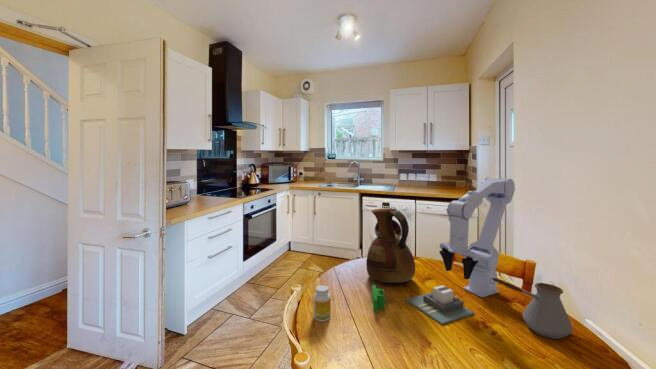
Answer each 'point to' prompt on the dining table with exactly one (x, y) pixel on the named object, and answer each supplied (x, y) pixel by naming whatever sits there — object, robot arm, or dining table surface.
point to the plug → (443, 294)
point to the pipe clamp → (378, 298)
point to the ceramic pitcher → (390, 250)
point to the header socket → (440, 308)
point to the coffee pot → (545, 311)
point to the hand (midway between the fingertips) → (457, 274)
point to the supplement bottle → (322, 303)
